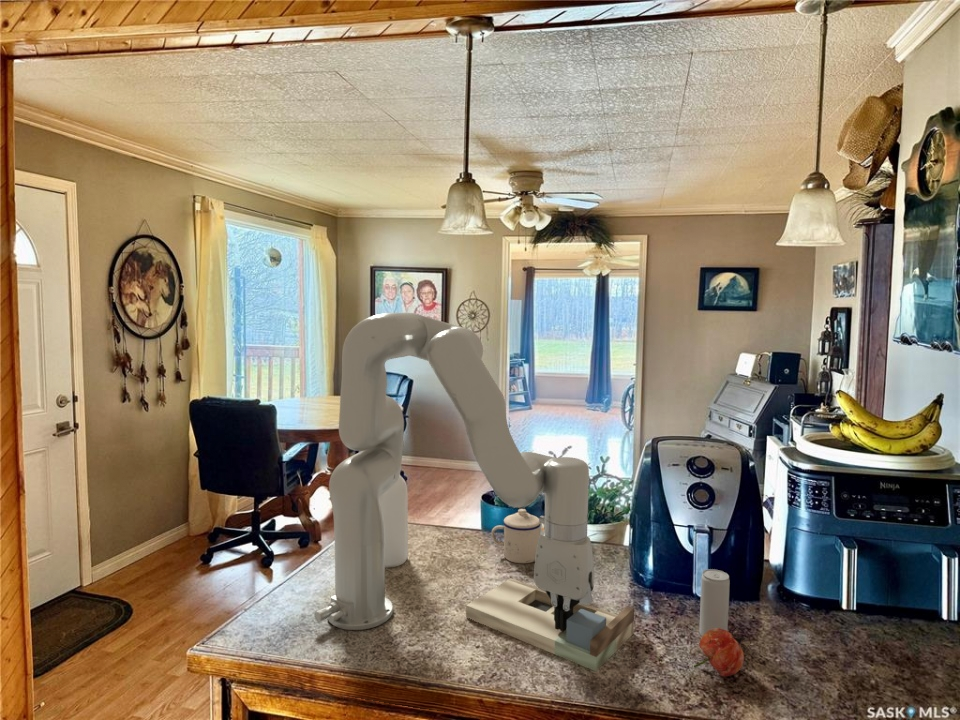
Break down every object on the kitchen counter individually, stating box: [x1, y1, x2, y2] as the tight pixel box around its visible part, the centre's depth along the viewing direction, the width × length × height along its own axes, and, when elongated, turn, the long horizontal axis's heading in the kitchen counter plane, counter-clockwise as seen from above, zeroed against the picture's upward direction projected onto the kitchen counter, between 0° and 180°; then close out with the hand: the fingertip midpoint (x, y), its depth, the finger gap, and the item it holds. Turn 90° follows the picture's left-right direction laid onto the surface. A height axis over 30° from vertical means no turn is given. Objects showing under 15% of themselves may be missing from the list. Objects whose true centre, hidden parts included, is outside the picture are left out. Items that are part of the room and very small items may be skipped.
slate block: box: [566, 609, 606, 651], centre depth 106 cm, size 5×5×4 cm
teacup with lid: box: [491, 508, 541, 564], centre depth 147 cm, size 12×9×12 cm
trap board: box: [465, 577, 635, 672], centre depth 115 cm, size 15×28×5 cm, turn 52°
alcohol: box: [379, 474, 409, 568], centre depth 143 cm, size 9×9×30 cm
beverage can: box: [699, 568, 731, 637], centre depth 111 cm, size 5×5×12 cm
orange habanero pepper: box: [693, 628, 747, 678], centre depth 101 cm, size 7×7×10 cm
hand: (563, 627), depth 109 cm, fingers closed
